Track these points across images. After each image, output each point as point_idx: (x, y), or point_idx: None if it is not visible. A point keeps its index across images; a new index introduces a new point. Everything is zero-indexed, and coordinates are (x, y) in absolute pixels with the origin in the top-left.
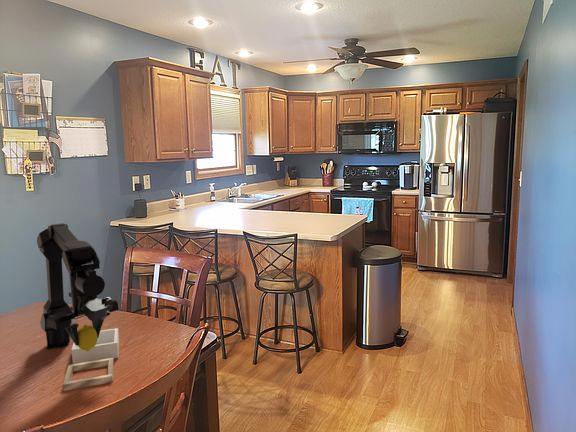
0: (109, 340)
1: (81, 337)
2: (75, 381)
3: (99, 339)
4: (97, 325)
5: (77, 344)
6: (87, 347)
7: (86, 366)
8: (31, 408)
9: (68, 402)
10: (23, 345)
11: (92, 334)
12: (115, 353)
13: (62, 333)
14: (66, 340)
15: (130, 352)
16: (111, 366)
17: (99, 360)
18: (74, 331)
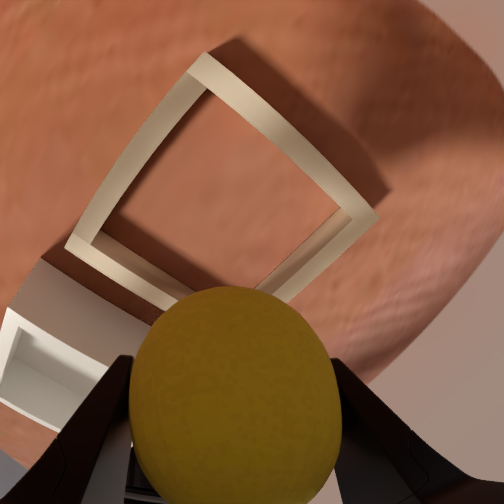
0: (28, 374)
1: (339, 407)
2: (341, 189)
3: (55, 398)
4: (97, 478)
5: (343, 365)
6: (277, 299)
7: (183, 293)
8: (472, 202)
9: (425, 105)
10: None
11: (230, 393)
12: (40, 278)
13: (139, 472)
14: (132, 449)
15: None
16: (124, 161)
17: (124, 278)
18: (440, 473)
